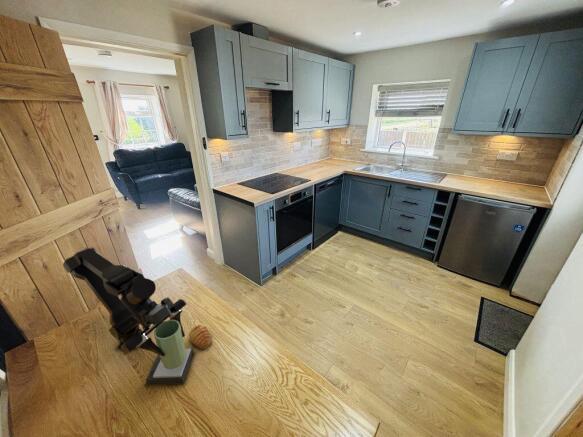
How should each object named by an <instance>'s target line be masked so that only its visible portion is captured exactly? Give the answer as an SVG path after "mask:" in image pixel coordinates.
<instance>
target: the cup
mask: <svg viewBox="0 0 583 437" xmlns="http://www.w3.org/2000/svg"><path fill="white" fill-rule="evenodd" d="M153 336H154V339H155V344H156V345H157V346H158V347H159V348H160V349H161V350H162V351H163V353H164V354H165V356H164V357H162V356H160V357H161V360H162V364H163V366H164V367H165V368H167V369H174V368H177V367H179V366H180V365H181V364H182V363H183V362H184V361H185V359H186V356H187V354H186V349H187V348H186V345H185V340H184V337H183V335H182V331H181V326H180V323H179V322H178V321H176V320H170V319H168V320H167V319H166V320H165V321H164V322H162V323H161V324H160V325H158V326H157V327H156V328H155V329H154V330H153Z"/></svg>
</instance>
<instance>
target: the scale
mask: <svg viewBox="0 0 583 437" xmlns="http://www.w3.org/2000/svg"><path fill="white" fill-rule="evenodd" d="M185 349H186V354H187V356H186V359H185V361H184V362H183V363H182V364H181V365H180V366H179V367H177V368H174V369H167V368H165V367H164V366H163V364H162V360H161V357H160V355H158V354H157V356H156V358H155V360H154V362H153V364H152V366H151V368H150V371H149V372H148V375H147V376H146V378H145V382H146V384H147V386H153V385H154V386H155V385H181V384H184V383H185V380H186V377H187V374H188V372H189V369H190V366H191V365H192V364H191V363H192V360H193V358H194V356H195V351H194V349H193V348H185Z"/></svg>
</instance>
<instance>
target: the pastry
mask: <svg viewBox="0 0 583 437" xmlns="http://www.w3.org/2000/svg"><path fill="white" fill-rule="evenodd" d="M188 338H189V341H190V342H191V343H192V345H194V347H197V348H198V349H201V350H205V349H207V348H208V347H209V346H210V345H211V342H212V339H211V338H212V335H211V332H210V331H209V329H208V327H207V326H205V325H203V324H196V325H195V326H194V327H193V328H192V329H191V330H190V331H189V334H188Z"/></svg>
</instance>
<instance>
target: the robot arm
mask: <svg viewBox="0 0 583 437" xmlns="http://www.w3.org/2000/svg"><path fill="white" fill-rule="evenodd" d="M62 266H63V268H64V270H65V271H66V273H68V274H70V275H72V276H73V277H74V278H76V279H78V280H82V281H84V282H85V283H86V285H87V286H88V287H89V288H90V290H91V291H92V293H93V294H94V295H95V296H96V297H97V299H98V300H99V301H100V303H101V304H102V306H103V307H104V308H105V309H106V310H107V312H108V313H109V324H110V326H111V327H110V328H109V329H108V332H109V333H110V334H111V336H112V337H113V338H115V339H116V340H118V341H119V344H118V346H117V349H118V350H119V349H120V350H121V352H122V353H123V354H124V355H125V356H126V355H128V354H130V353H131V352H132V351H133V350H135V351H137V350H139V349H140V350H141V349H143V350H145V351H148V352H151V353H153V354H156V355H157V356H158V355H160V356H162V357H164V356H165V354H164V353H163V351H162V350H161V349H160V348H159V347H158V346H157V343H156V342H154V341H153V339H152V337H151V336H149V337H147V336H148V335H149V334H151V333H152V332H154V331H155V329H156V327H157V326H158V325H160V324H161V323H163V322H164V321H167V319H169V320H176V321H178V322H179V323H180V326H181V331H182V335H183V338H184V337H186V334H185V331H184V328H183V324H182V321H181V313H183V310H182V309H183V308H184V307H185V306H187V302H186V301H185V299H181V298H179V299H177V301H175V302H173V300H171V298H169V296H165V297H164V298H162V300H160V303H159V304H158V303H157V302H156V301H155V300H152V299H151V297H152V296H153V295H154V294H155V292H156V289H157V285H156V283H155V282H154V280H152V279H150V278H147V277H145V276H144V275H143V274H142V273H140V272H138V271H136V270H134V269H132V268H130V267H128V266H127V265H124V264H114V263H113V262H111V261H110V260H108V259H107V258H106V257H104V256H103V255H101V254H100V253H98V252H97V250H96V249H95V247H87V248H84V249H82V250H79V251H77V252H76V253H74V254H73V255H72V256H70V257H68V258H65V261H64V262H63V263H62ZM119 296H120V297H119ZM140 325H141V328H140ZM151 325H152V326H151Z"/></svg>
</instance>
